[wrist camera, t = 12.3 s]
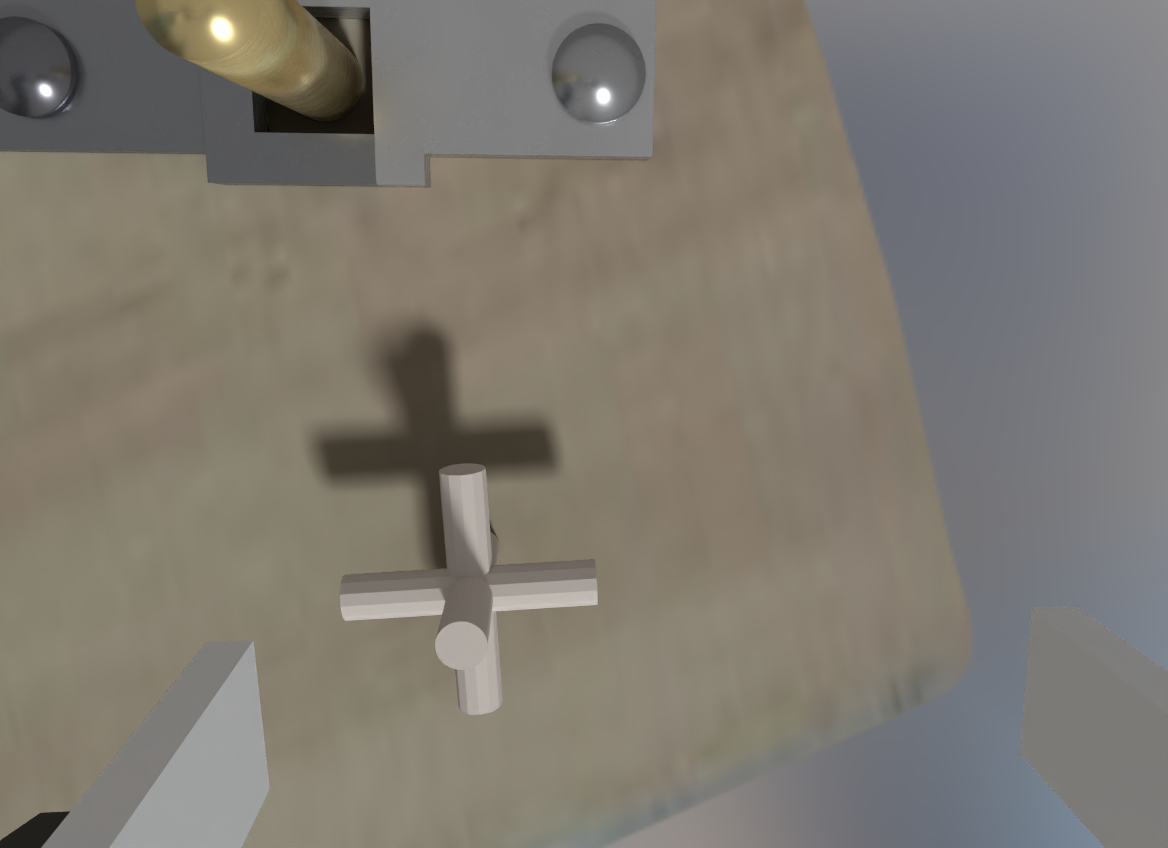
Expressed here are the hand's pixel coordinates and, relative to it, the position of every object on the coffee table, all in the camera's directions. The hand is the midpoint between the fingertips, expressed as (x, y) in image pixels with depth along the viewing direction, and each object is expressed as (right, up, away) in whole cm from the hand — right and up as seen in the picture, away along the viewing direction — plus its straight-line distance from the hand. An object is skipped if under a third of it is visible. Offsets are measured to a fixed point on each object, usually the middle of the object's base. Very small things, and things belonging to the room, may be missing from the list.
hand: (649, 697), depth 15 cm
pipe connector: (-6, -1, +26) cm, 27 cm away
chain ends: (-12, +19, +22) cm, 31 cm away
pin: (-12, +19, +22) cm, 31 cm away
